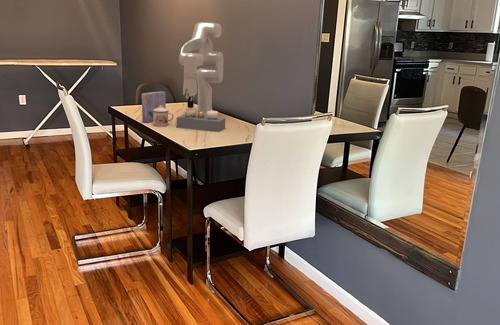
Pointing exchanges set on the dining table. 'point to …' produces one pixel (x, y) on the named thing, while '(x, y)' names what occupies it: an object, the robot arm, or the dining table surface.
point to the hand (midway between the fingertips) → (190, 107)
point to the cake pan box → (151, 104)
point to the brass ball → (200, 114)
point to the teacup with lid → (161, 116)
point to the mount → (200, 123)
